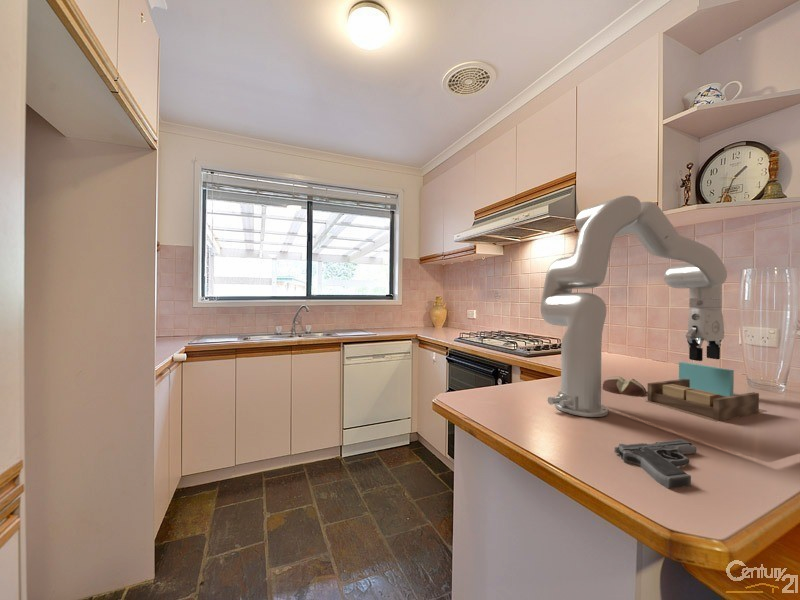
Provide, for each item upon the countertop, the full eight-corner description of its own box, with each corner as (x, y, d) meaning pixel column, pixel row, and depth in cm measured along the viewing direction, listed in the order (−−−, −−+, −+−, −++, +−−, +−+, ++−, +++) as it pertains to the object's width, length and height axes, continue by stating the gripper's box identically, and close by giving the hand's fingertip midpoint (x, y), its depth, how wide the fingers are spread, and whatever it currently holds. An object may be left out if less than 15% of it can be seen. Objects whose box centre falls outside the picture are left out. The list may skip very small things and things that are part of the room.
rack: (715, 425, 77) (716, 400, 77) (645, 404, 92) (645, 383, 92) (767, 414, 84) (767, 391, 84) (694, 397, 99) (694, 377, 99)
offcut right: (709, 416, 80) (709, 395, 80) (686, 409, 85) (686, 390, 85) (719, 414, 82) (719, 394, 82) (695, 407, 86) (695, 389, 86)
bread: (609, 387, 110) (609, 372, 110) (650, 395, 101) (650, 379, 101) (595, 393, 103) (596, 377, 103) (638, 402, 94) (638, 385, 94)
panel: (678, 389, 108) (729, 401, 96) (678, 362, 108) (729, 370, 96) (682, 388, 109) (733, 400, 96) (682, 362, 109) (733, 370, 96)
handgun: (751, 466, 54) (677, 435, 66) (668, 476, 51) (605, 442, 63) (750, 480, 55) (676, 447, 66) (667, 492, 51) (605, 455, 63)
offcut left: (683, 408, 85) (683, 389, 85) (662, 402, 90) (662, 385, 90) (692, 407, 87) (693, 388, 87) (671, 401, 92) (672, 383, 91)
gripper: (702, 304, 96) (701, 363, 96) (736, 304, 102) (736, 359, 102) (673, 304, 103) (673, 359, 103) (707, 304, 109) (706, 355, 109)
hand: (704, 359), depth 102 cm, fingers open, 8 cm apart
